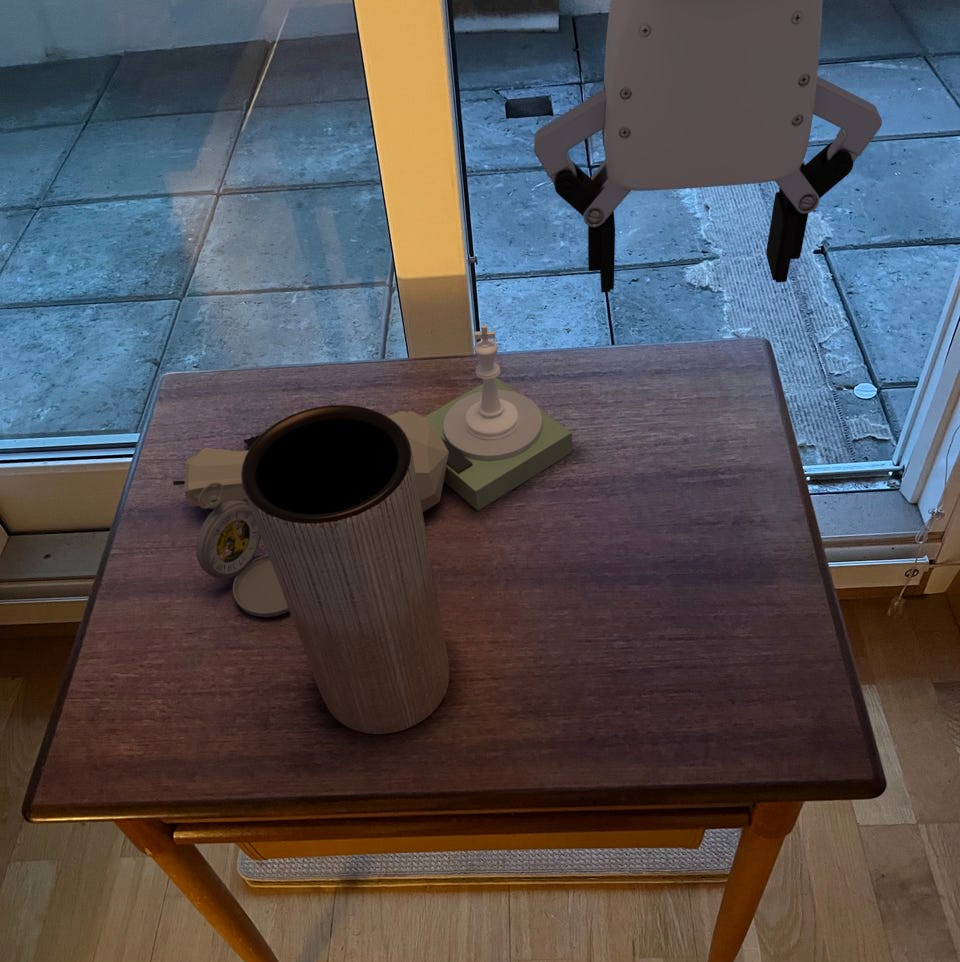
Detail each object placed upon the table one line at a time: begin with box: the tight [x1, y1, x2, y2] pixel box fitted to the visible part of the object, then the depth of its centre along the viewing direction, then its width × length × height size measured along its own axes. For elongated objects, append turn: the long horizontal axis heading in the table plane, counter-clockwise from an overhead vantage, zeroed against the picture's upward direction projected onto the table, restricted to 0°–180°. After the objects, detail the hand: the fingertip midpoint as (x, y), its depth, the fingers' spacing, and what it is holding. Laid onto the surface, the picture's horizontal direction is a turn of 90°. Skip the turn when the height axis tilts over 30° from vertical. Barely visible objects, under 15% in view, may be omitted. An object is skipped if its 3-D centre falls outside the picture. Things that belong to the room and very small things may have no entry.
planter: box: [241, 404, 450, 735], centre depth 64 cm, size 10×10×23 cm
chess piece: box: [465, 324, 520, 440], centre depth 82 cm, size 5×5×10 cm
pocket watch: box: [195, 482, 290, 618], centre depth 76 cm, size 8×8×10 cm
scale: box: [424, 376, 573, 511], centre depth 87 cm, size 11×11×3 cm
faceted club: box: [172, 410, 449, 513], centre depth 83 cm, size 9×8×25 cm
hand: (690, 274), depth 55 cm, fingers open, 9 cm apart
